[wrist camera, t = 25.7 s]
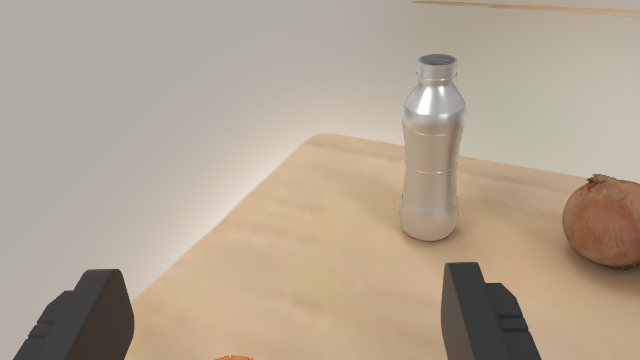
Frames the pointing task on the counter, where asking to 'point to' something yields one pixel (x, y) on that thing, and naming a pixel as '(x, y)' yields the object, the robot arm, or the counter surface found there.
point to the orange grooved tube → (234, 358)
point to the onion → (605, 221)
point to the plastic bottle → (432, 150)
